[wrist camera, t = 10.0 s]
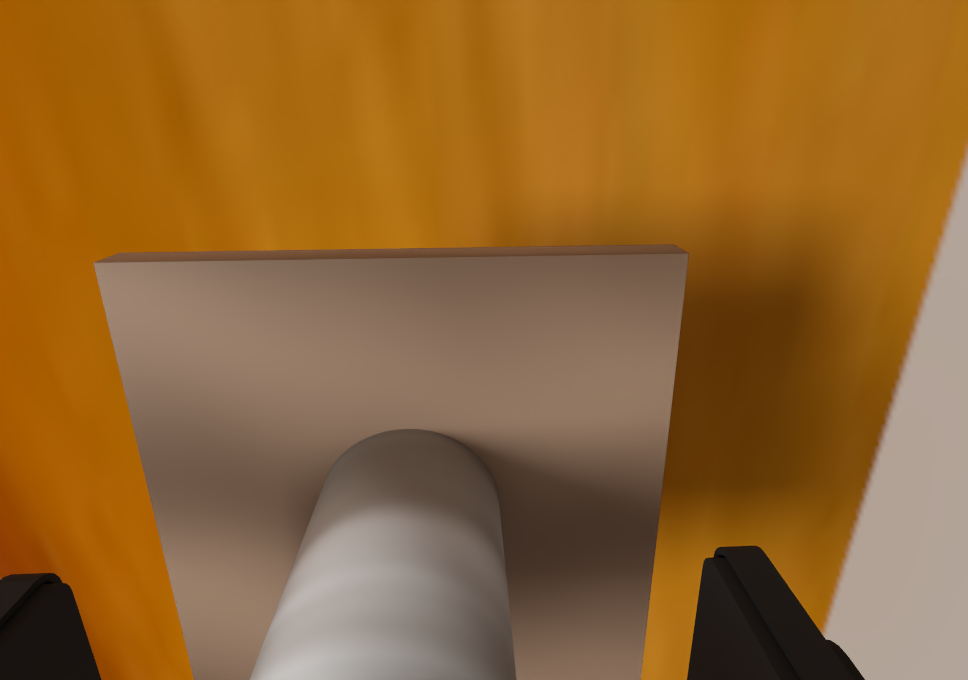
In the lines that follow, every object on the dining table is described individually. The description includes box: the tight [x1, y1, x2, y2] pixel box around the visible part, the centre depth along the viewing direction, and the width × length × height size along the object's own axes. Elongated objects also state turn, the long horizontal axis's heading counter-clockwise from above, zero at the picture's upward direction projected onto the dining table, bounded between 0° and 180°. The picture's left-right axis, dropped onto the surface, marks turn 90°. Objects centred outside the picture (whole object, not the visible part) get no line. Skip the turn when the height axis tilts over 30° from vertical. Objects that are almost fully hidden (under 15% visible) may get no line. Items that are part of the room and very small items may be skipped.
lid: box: [94, 245, 689, 680], centre depth 10 cm, size 10×10×6 cm
